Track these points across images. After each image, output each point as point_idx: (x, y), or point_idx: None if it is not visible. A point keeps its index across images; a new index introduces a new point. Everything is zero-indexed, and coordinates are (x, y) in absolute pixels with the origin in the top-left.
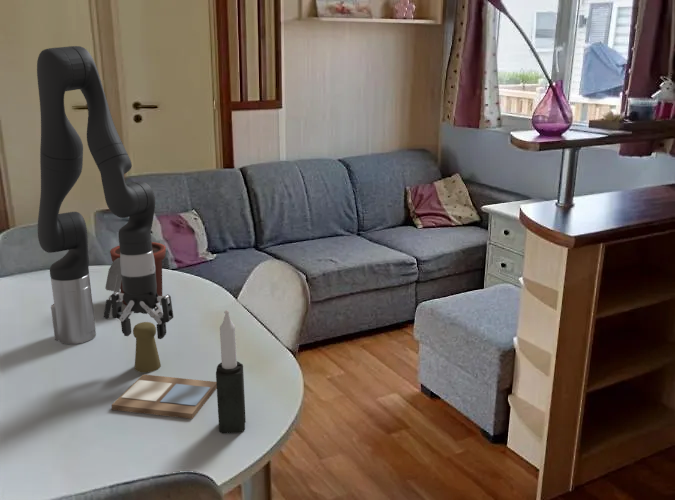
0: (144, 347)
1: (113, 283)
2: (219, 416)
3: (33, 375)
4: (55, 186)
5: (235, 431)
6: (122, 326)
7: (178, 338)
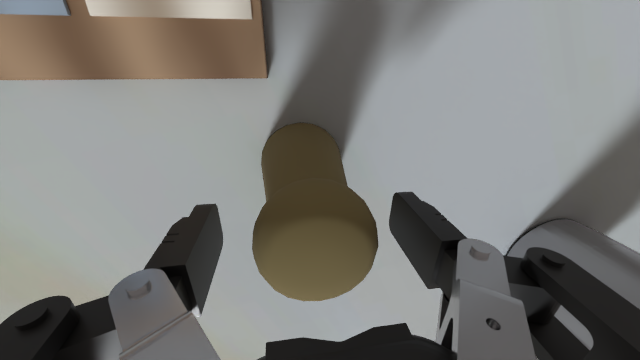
0: (292, 165)
1: None
2: None
3: (630, 22)
4: None
5: None
6: (445, 223)
7: (304, 311)
